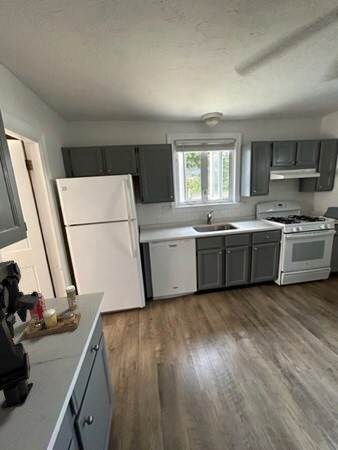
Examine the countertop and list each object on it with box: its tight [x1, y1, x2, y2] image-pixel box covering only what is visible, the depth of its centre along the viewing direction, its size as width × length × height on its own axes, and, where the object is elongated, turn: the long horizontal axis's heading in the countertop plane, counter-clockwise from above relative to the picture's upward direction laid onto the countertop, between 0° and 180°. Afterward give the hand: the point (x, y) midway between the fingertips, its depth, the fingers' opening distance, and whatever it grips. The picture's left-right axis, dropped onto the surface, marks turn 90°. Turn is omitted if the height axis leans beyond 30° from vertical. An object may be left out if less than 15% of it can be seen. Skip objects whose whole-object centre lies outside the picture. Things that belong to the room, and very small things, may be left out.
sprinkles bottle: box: [65, 285, 79, 311], centre depth 108 cm, size 5×5×13 cm
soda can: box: [28, 292, 48, 321], centre depth 102 cm, size 7×7×13 cm
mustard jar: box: [43, 308, 58, 329], centre depth 94 cm, size 5×5×8 cm
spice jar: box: [62, 310, 76, 326], centre depth 96 cm, size 5×5×5 cm
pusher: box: [34, 319, 46, 330], centre depth 93 cm, size 6×4×4 cm
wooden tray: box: [22, 310, 82, 339], centre depth 95 cm, size 9×22×4 cm, turn 102°
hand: (18, 329), depth 78 cm, fingers open, 9 cm apart
